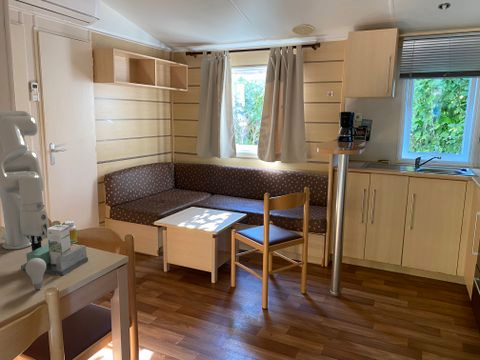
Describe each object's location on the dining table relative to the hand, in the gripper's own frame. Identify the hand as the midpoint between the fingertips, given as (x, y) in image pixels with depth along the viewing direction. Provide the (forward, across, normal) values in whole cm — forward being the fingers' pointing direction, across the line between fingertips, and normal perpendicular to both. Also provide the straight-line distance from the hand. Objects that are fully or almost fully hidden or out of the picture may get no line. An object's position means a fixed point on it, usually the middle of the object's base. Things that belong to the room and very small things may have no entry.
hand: (37, 251), depth 144 cm
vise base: (+5, -9, 0) cm, 10 cm away
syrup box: (+4, -11, 0) cm, 12 cm away
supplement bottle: (+5, +4, -23) cm, 24 cm away
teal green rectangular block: (+3, -5, 0) cm, 6 cm away
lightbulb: (+5, -17, +18) cm, 25 cm away
